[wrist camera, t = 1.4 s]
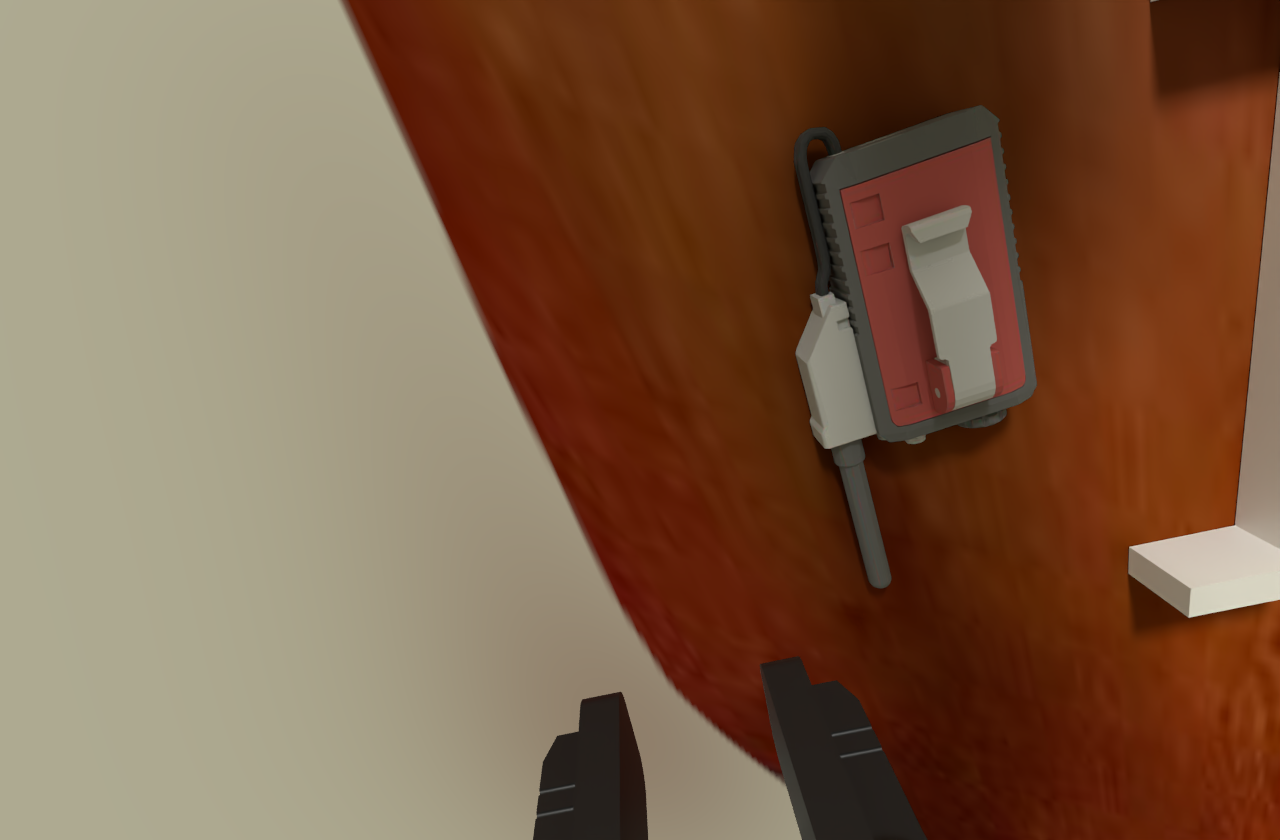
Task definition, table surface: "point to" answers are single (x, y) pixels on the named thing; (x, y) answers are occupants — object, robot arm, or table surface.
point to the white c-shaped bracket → (1269, 475)
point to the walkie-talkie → (910, 295)
